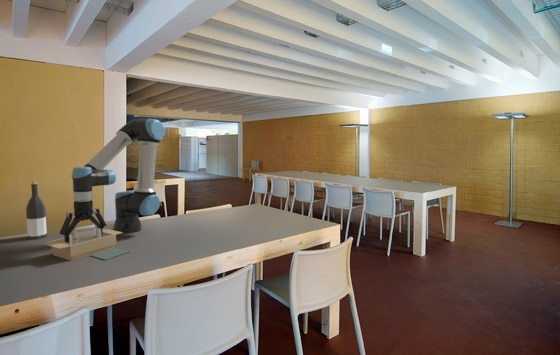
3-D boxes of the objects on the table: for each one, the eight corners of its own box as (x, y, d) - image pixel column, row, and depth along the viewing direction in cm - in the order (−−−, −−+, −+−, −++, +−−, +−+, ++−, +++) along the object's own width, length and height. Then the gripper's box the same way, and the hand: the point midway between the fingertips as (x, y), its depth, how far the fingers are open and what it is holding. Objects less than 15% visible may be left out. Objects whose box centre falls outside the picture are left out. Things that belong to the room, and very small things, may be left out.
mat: (114, 248, 154) (114, 247, 154) (129, 252, 149) (129, 251, 149) (90, 255, 143) (90, 255, 143) (105, 260, 138) (105, 259, 138)
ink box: (95, 247, 155) (94, 224, 154) (96, 250, 151) (95, 226, 150) (73, 251, 149) (72, 226, 148) (75, 254, 145) (74, 228, 144)
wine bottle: (28, 240, 165) (24, 182, 162) (27, 236, 171) (24, 181, 168) (47, 237, 170) (44, 181, 167) (46, 234, 176) (43, 180, 173)
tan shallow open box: (105, 240, 166) (104, 228, 166) (123, 245, 159) (123, 232, 159) (42, 257, 141) (41, 243, 140) (61, 263, 134) (60, 248, 133)
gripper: (103, 196, 160) (105, 237, 162) (48, 203, 138) (51, 251, 140) (113, 197, 157) (114, 239, 159) (58, 205, 135) (60, 253, 137)
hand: (84, 245), depth 150 cm, fingers open, 13 cm apart
